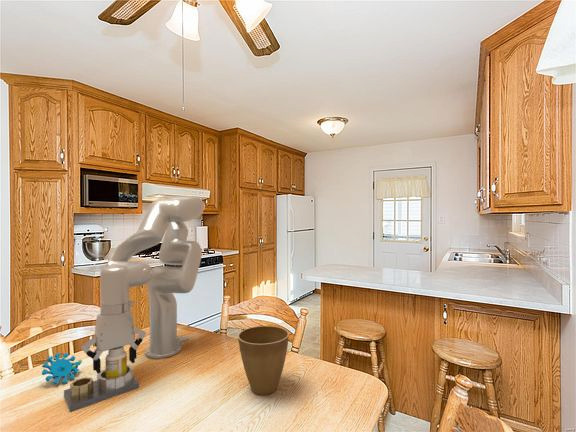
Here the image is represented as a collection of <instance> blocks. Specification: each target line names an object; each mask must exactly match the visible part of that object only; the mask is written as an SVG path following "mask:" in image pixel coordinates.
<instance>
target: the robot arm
mask: <svg viewBox="0 0 576 432" xmlns="http://www.w3.org/2000/svg"><path fill="white" fill-rule="evenodd" d="M204 210H205V203H204V201H203V200H202V198H201V197H199V196H194V195H192V196H191V195H189V196H187V195H186V196H184V195H183V196H181V195H180V196H179V195H177V196H168V197H165V198H164V199H163V198H162V199H161V198H159V199H156V200H153V201H152V202H151V203H150V204H149V207H148V208H147V211H146V213H145V215H144V217H143V218H142V221H141V223H140V225H139V226H138V229H137V230H136V231H135V233H133V234H131V235H130V236H129V237H127V238H126V239H125V240H124V241H122V242H121V243H120V244H118V246H117V247H116V248H114V250H113V251H112V253H111V255H110V257H109V259H108V261H107V263H106V264H105V267H103V268H101V270H100V276H99V277H100V278H99V280H100V282H99V284H100V285H99V288H100V289H99V290H100V291H99V292H100V295H99V296H100V313H97V315H96V319H95V325H94V327H95V328H94V336H93V337H92V338H90V339H89V340H88V341H86V342H85V343H84V344H83V345H81V347H80V348H81V350H82V351H83V352H84V353H85V354H86V356H87V357H89V358H91V359H92V369H93V371H95V372H96V373H97V375H98V374H99V373H100V372H101V371H102V370H101V368H102V367H101V365H102V364H101V363H102V362H101V360H102V359H100V356H101V355H102V353H103V352H105V351H109V350H110V349H114V348H118V347H121V346H124V347H125V346H128V345H130V346H129V349H128V356H129V357H128V360H129V361H130V363H131V364H135V363H136V361H135V360H136V359H137V349H139V346H140V345H141V343H142V342H143V340H144V338H145V336H146V334H147V332H146V331H145V330H142V329H139V328H136V327H135V319H134V316H133V315H134V314H133V311H132V309H131V307H134V306H135V301H134V300H132V301H131V300H130V289H131V288H135V287H141V286H144V285H146V287H147V293H148V300H149V304H148V305H149V308H148V309H149V346H148V347H147V348H146V349H145V350H144V356H145V357H147V358H150V359H155V360H156V359H165V358H169V357H173V356H175V355H177V354H178V353H180V351H182V345H181V344H182V343H185V342H189V341H190V336H189V335H186V336H184V335H182V334H181V335H179V336H178V312H177V311H178V302H177V299H176V297H175V294H188V293H190V292H191V291H192V290H193V289H194V287H195V284H196V281H197V277H198V272H199V269H200V265H201V261H202V253H203V252H202V247H201V244H199V242H198V241H195V240H188V236H189V229H188V227H187V225H186V223H187V222H189V221H192V220H195V219H198V218H199V217H201V216H202V214H203V212H204ZM185 222H186V223H185ZM161 242H162V243H161ZM160 243H161V245H160V249H159V253H158V258H159V259H158V260H159V261H160V263H162V264H163V265H166V266H156V267H152V266H151V265H150V264H149V263H146V262H143V261H130V260H131V259H132V257H134V256H135V255H136V254H139V253H140V252H142V251H145V250H148V249H150V248H152V247H154V246H157V245H159V244H160ZM167 265H170V266H167ZM136 334H137V335H138V337H137V338H136ZM93 345H94V347H96V348H95V349H94V350H93V351H92V350H90V347H92V346H93Z"/></svg>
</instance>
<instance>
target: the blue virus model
mask: <svg viewBox="0 0 576 432" xmlns="http://www.w3.org/2000/svg"><path fill="white" fill-rule="evenodd" d="M61 355H62V354H61V353H60V352H57V353H55V354H54V356H52V355H51V356H49V357H47V359H46V361H45V362H44V363H43V364H42V365H41V368H44V369H43V370H42V371H41V375H42V376H45V375H47V376H46V377H45V380H46V382H50V381H51V380H52V379H54V380H53V381H52V384H53V385H57V384H59V382H60V379H61V378H63V380H62V381H61V384H62V385H65V384H67V383H68V376H69V381H73V380H75V378H76V374H78V372H79V371H80V368H78V367H79V366H80V365H81V364H82V363H83V360H82V359H79V360H78V361H76V362H74V361H75V360H76V356H75V355H72V356H71V357H69V355H70V353H68V352H65V353H63V356H62V358H60V356H61ZM68 357H69V358H68ZM54 358H55V360H53V359H54ZM49 363H50V364H49ZM72 372H73V373H72Z"/></svg>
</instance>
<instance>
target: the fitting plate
mask: <svg viewBox="0 0 576 432" xmlns="http://www.w3.org/2000/svg"><path fill="white" fill-rule="evenodd" d="M139 388H140V382H139V381H138V380H137V378H136V377H135V376H134V368H133V366H132V365H129V364H127V373H126V374H125V375H123V376H120V377H117V378H110V379H106V368H104V369H103V370H101V372H100V373H99V374H97V376H96V380H94V378H93V377H90V376H89V377H88V376H87V377H81V378H77V379H74V380H73V381H72V382H71V383H70V384H69V388H67V389H64V390H63V397H64V401H65V403H66V405H67V408H68V411H69V412H70V413H71V412H73V411H74V412H75V411H76V410H79V409H82V408H86V407H88V406H91V405H93V404H96V403H99V402H103V401H104V400H108V399H110V398H113V397H116V396H119V395H121V394H125V393H127V392H131V391H133V390H137V389H139Z"/></svg>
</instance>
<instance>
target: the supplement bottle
mask: <svg viewBox="0 0 576 432" xmlns="http://www.w3.org/2000/svg"><path fill="white" fill-rule="evenodd" d="M124 348H125V346H121V347H118V348H114V349H110V350H108V354H107V355H105V369H106V379H110V378H117V377H120V376H123V375H125V374H126V373H127V365H128V358H127V357H128V353H127V352H126V351H125V349H124Z"/></svg>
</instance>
